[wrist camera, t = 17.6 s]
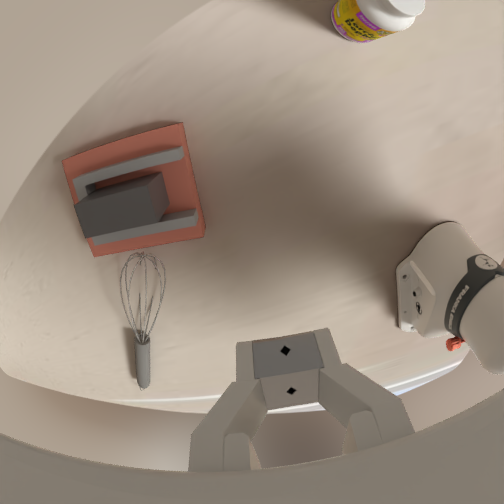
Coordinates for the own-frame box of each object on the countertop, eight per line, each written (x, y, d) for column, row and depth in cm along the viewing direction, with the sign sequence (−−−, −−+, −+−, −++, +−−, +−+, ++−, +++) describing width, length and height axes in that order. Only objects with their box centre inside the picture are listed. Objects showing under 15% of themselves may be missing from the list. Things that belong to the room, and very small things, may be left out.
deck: (205, 227, 39) (201, 246, 34) (102, 247, 39) (86, 266, 34) (182, 122, 32) (173, 125, 27) (72, 156, 33) (51, 165, 28)
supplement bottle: (323, 31, 27) (364, 0, 16) (335, -8, 24) (377, -46, 13) (371, 52, 28) (428, 37, 17) (382, 14, 25) (437, -11, 14)
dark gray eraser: (169, 203, 34) (157, 222, 28) (105, 218, 34) (85, 238, 29) (161, 171, 32) (147, 185, 26) (96, 188, 32) (73, 205, 27)
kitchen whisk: (131, 381, 54) (125, 404, 48) (130, 238, 39) (115, 259, 34) (159, 387, 55) (154, 411, 49) (171, 246, 40) (162, 269, 35)
